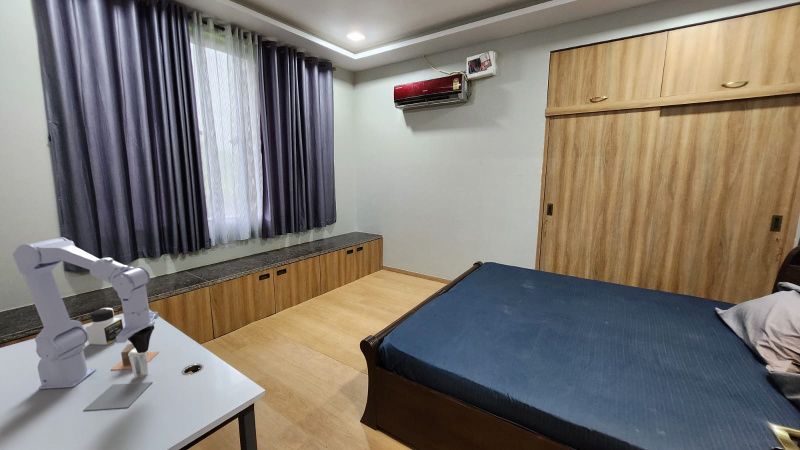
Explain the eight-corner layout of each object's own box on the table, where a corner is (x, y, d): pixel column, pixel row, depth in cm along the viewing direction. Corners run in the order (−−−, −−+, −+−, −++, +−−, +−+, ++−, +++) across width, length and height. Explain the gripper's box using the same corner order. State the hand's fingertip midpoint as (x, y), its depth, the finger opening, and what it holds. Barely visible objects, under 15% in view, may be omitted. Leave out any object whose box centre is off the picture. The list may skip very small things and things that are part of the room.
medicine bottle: (107, 345, 113) (102, 314, 111) (88, 344, 113) (82, 314, 111) (124, 334, 120) (119, 306, 118) (106, 334, 120) (101, 305, 118)
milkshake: (142, 381, 95) (137, 351, 93) (128, 378, 96) (123, 349, 94) (156, 371, 99) (152, 343, 97) (142, 369, 100) (138, 341, 98)
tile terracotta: (110, 370, 99) (110, 369, 99) (131, 353, 108) (131, 353, 108) (141, 368, 100) (141, 367, 100) (159, 352, 109) (159, 351, 109)
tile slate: (83, 410, 83) (83, 410, 83) (112, 385, 93) (112, 384, 93) (127, 407, 84) (127, 407, 84) (152, 382, 94) (152, 382, 94)
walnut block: (123, 366, 101) (121, 352, 100) (129, 357, 106) (127, 344, 105) (142, 362, 103) (140, 349, 102) (147, 354, 107) (145, 341, 107)
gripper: (133, 320, 83) (140, 365, 86) (166, 298, 97) (171, 337, 100) (104, 322, 82) (112, 367, 85) (141, 299, 96) (148, 338, 99)
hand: (142, 351), depth 92 cm, fingers closed
